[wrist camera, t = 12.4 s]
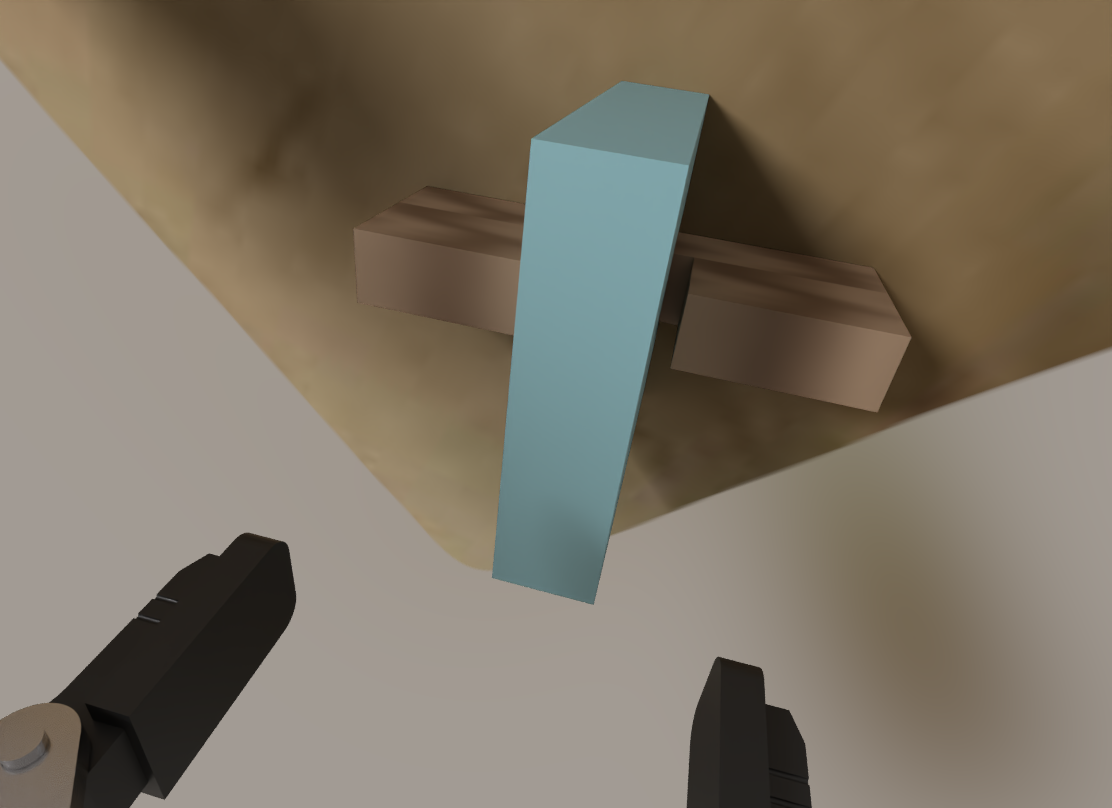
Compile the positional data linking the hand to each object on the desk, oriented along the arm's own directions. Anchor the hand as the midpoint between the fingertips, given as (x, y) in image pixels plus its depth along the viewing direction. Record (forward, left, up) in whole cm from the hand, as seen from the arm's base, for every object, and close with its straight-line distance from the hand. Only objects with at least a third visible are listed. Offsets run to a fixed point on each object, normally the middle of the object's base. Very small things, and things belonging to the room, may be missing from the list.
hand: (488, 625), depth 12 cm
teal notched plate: (0, 0, -21) cm, 21 cm away
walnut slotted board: (0, 0, -21) cm, 21 cm away
